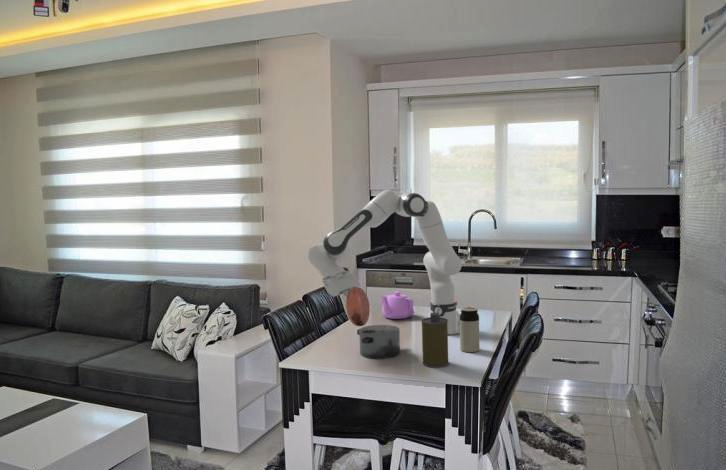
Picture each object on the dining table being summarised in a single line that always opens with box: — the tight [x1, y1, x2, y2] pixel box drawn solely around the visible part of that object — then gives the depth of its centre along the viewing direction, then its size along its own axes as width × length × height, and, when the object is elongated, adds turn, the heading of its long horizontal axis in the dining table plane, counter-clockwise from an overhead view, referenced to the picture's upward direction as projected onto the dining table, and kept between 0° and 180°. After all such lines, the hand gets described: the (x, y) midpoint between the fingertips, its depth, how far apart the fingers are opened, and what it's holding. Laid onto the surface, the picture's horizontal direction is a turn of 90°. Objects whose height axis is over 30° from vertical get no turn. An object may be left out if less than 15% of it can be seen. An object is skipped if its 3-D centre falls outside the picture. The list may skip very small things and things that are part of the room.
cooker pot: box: [356, 324, 401, 360], centre depth 235 cm, size 25×18×10 cm
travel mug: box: [459, 305, 480, 353], centre depth 235 cm, size 8×8×18 cm
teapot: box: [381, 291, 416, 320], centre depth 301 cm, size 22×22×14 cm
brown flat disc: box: [345, 287, 370, 327], centre depth 240 cm, size 17×17×3 cm
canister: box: [420, 313, 450, 369], centre depth 218 cm, size 11×10×20 cm
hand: (353, 298), depth 240 cm, fingers closed
